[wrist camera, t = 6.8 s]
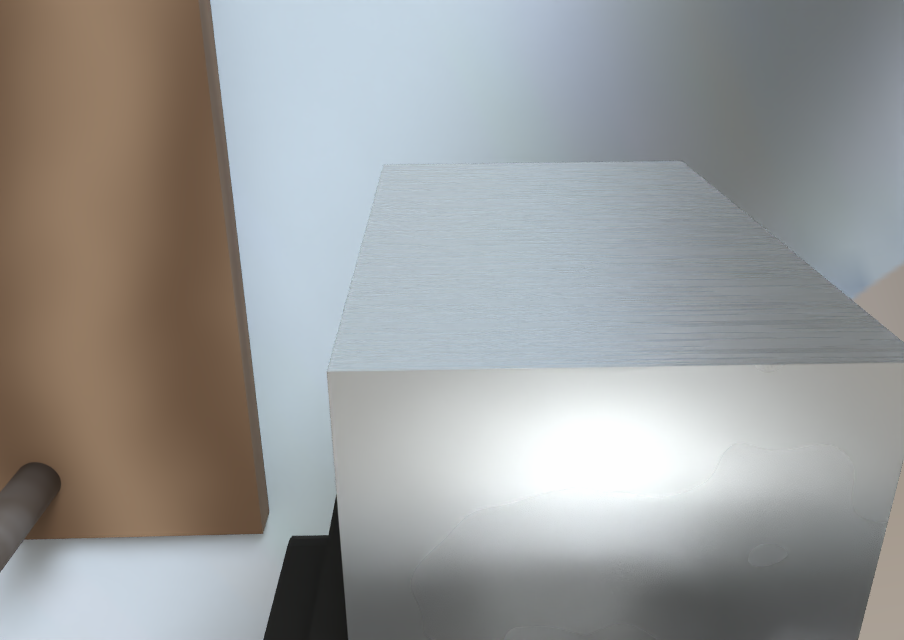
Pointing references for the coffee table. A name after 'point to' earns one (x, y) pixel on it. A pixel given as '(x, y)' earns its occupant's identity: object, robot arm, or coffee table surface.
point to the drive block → (603, 415)
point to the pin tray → (120, 280)
